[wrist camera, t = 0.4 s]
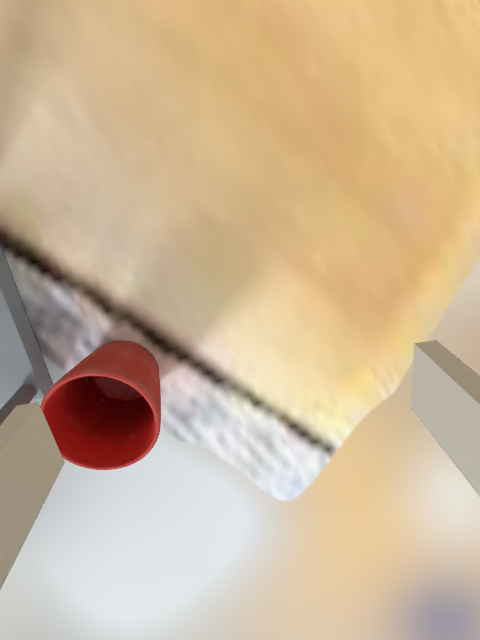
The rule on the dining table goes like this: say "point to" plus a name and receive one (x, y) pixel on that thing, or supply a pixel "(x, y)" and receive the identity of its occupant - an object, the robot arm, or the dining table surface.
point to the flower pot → (106, 407)
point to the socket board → (18, 350)
